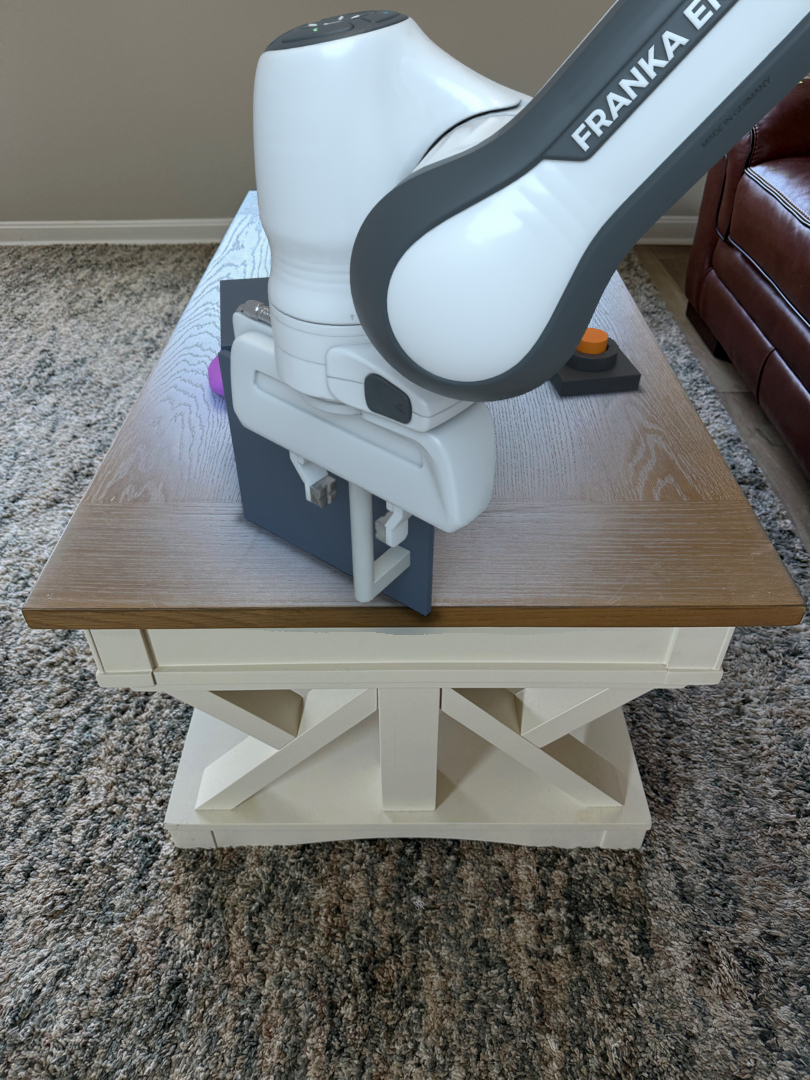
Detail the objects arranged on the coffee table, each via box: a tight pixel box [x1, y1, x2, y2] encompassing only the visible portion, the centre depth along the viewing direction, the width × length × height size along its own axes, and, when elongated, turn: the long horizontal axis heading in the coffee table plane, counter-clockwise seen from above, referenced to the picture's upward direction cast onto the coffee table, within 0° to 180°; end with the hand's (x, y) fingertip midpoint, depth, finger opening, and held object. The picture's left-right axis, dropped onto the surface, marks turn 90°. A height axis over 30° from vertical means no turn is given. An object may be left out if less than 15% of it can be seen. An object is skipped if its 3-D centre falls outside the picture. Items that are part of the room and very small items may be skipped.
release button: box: [576, 327, 609, 354], centre depth 97 cm, size 4×4×2 cm
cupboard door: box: [217, 350, 436, 617], centre depth 65 cm, size 7×22×18 cm, turn 53°
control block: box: [548, 336, 642, 398], centre depth 98 cm, size 10×10×4 cm
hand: (355, 519), depth 56 cm, fingers open, 5 cm apart
